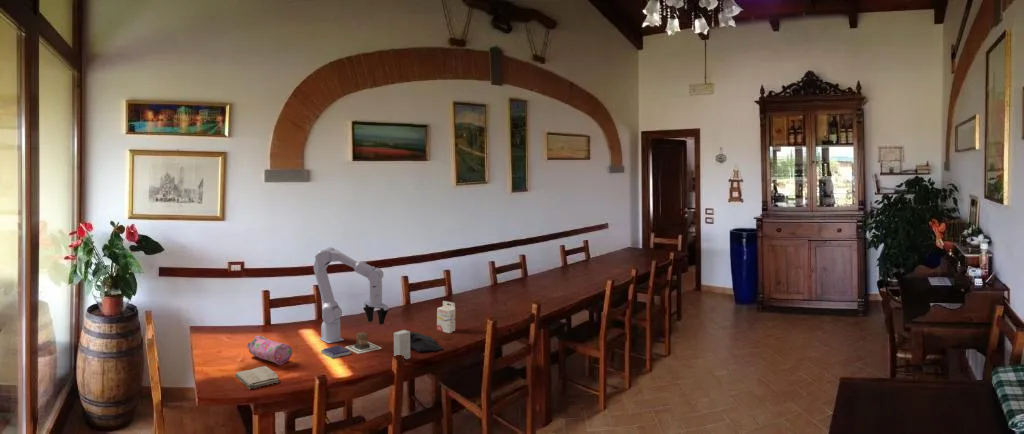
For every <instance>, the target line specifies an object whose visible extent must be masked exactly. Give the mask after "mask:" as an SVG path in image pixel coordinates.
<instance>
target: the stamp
mask: <svg viewBox="0 0 1024 434" xmlns="http://www.w3.org/2000/svg"><path fill="white" fill-rule="evenodd" d="M368 335H369V333H368V332H367V333H366V332H365V331H362V332H357V333H356V343H355V344H353V345H354V346H355V348H357V349H359V350H362V349H366V348H370V344H368V342H369V337H368Z"/></svg>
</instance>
